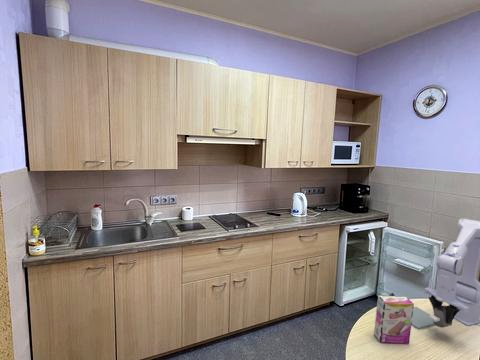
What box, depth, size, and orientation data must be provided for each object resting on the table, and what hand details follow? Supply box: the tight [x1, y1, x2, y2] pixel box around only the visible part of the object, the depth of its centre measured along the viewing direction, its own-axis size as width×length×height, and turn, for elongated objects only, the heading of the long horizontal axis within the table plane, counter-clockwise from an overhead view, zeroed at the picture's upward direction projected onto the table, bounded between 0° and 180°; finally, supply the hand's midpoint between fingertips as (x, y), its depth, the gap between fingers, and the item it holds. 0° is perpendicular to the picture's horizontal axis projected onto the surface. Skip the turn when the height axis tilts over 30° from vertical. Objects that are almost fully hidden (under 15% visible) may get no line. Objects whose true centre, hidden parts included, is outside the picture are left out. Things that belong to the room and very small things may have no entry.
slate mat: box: [411, 306, 435, 331], centre depth 110 cm, size 14×11×1 cm
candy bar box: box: [373, 295, 415, 345], centre depth 95 cm, size 11×5×16 cm, turn 89°
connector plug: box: [429, 304, 453, 329], centre depth 98 cm, size 10×4×6 cm, turn 108°
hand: (442, 319), depth 98 cm, fingers closed on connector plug, 4 cm apart
